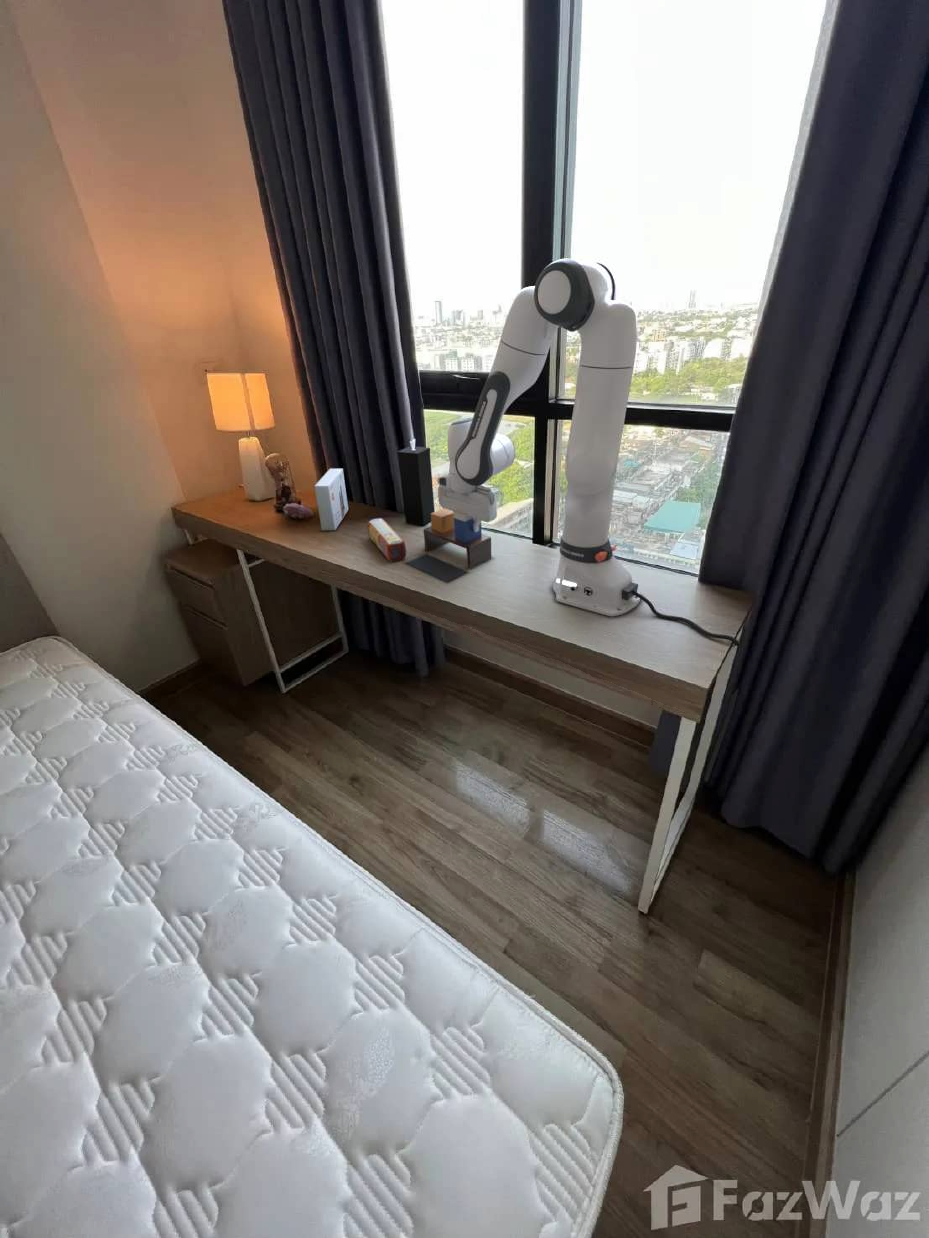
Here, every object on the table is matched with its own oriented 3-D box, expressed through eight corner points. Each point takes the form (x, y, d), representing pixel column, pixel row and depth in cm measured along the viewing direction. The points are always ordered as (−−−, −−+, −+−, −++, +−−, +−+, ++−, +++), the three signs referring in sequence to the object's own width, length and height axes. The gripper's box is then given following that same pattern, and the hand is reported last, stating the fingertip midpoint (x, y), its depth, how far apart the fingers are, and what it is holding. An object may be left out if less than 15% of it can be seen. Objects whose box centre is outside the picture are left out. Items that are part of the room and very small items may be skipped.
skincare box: (337, 530, 172) (328, 485, 163) (321, 531, 172) (312, 486, 164) (350, 509, 190) (343, 467, 181) (336, 509, 190) (328, 468, 181)
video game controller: (287, 521, 186) (278, 508, 180) (292, 512, 188) (283, 498, 182) (310, 523, 183) (302, 510, 177) (315, 513, 185) (307, 500, 179)
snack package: (408, 558, 151) (406, 538, 147) (388, 564, 148) (385, 543, 145) (387, 535, 167) (384, 515, 163) (367, 539, 165) (364, 519, 161)
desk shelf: (491, 558, 148) (491, 536, 144) (470, 569, 143) (469, 546, 139) (446, 541, 161) (444, 520, 157) (425, 550, 155) (423, 529, 152)
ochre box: (456, 527, 151) (455, 512, 149) (442, 533, 148) (441, 517, 146) (445, 523, 155) (444, 508, 152) (431, 529, 151) (430, 513, 149)
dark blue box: (481, 535, 145) (481, 509, 141) (465, 542, 142) (464, 516, 137) (470, 531, 148) (469, 506, 144) (454, 538, 144) (453, 512, 140)
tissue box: (405, 523, 175) (395, 441, 160) (417, 515, 181) (409, 435, 166) (424, 526, 172) (416, 443, 157) (435, 518, 178) (429, 437, 162)
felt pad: (467, 572, 141) (467, 571, 141) (447, 582, 137) (447, 581, 137) (426, 554, 152) (426, 554, 152) (406, 563, 148) (406, 562, 148)
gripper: (501, 485, 131) (501, 534, 139) (449, 472, 144) (452, 517, 152) (485, 491, 128) (486, 541, 135) (433, 477, 140) (436, 523, 148)
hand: (467, 528), depth 144 cm, fingers closed on dark blue box, 4 cm apart
